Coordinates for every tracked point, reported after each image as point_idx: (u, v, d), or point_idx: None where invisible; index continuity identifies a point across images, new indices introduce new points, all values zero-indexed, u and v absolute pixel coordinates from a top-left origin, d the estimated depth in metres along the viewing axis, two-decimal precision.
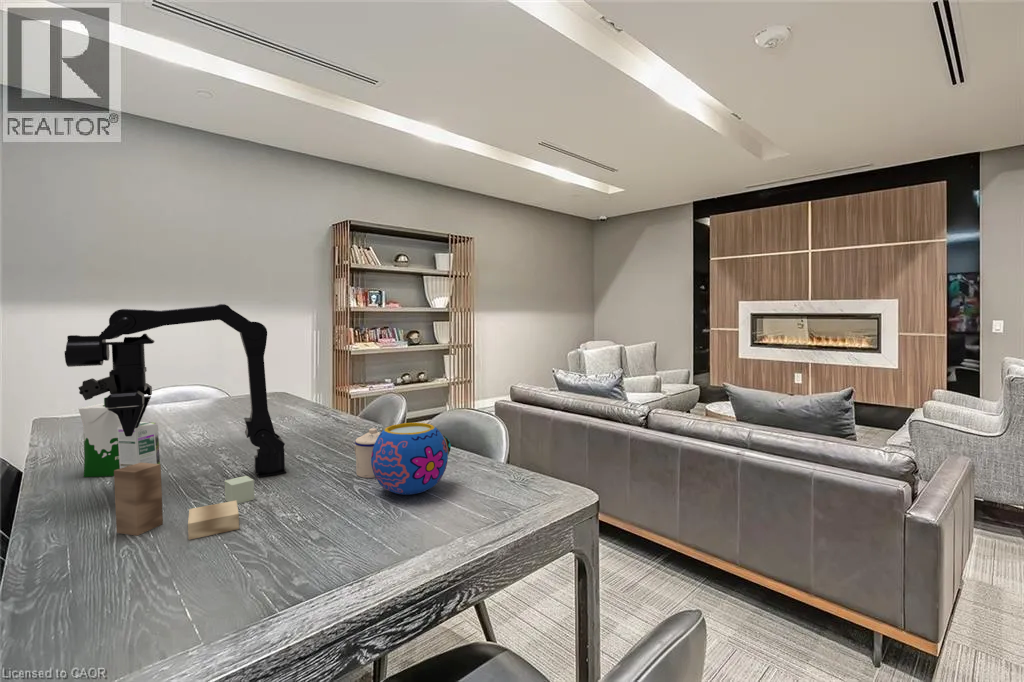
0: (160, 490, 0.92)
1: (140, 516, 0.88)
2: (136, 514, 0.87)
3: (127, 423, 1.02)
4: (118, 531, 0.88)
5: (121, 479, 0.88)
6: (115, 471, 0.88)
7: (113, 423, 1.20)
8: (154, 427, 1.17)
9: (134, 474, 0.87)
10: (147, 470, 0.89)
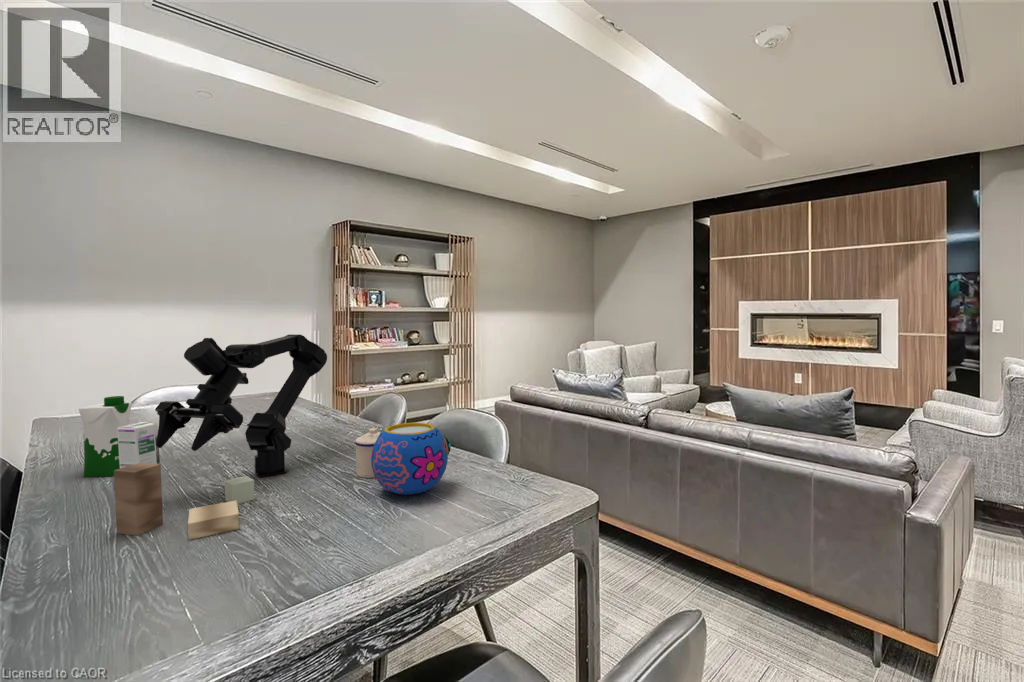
0: (160, 490, 0.92)
1: (140, 516, 0.88)
2: (136, 514, 0.87)
3: None
4: (118, 531, 0.88)
5: (121, 479, 0.88)
6: (115, 471, 0.88)
7: (113, 423, 1.20)
8: (154, 427, 1.17)
9: (134, 474, 0.87)
10: (147, 470, 0.89)
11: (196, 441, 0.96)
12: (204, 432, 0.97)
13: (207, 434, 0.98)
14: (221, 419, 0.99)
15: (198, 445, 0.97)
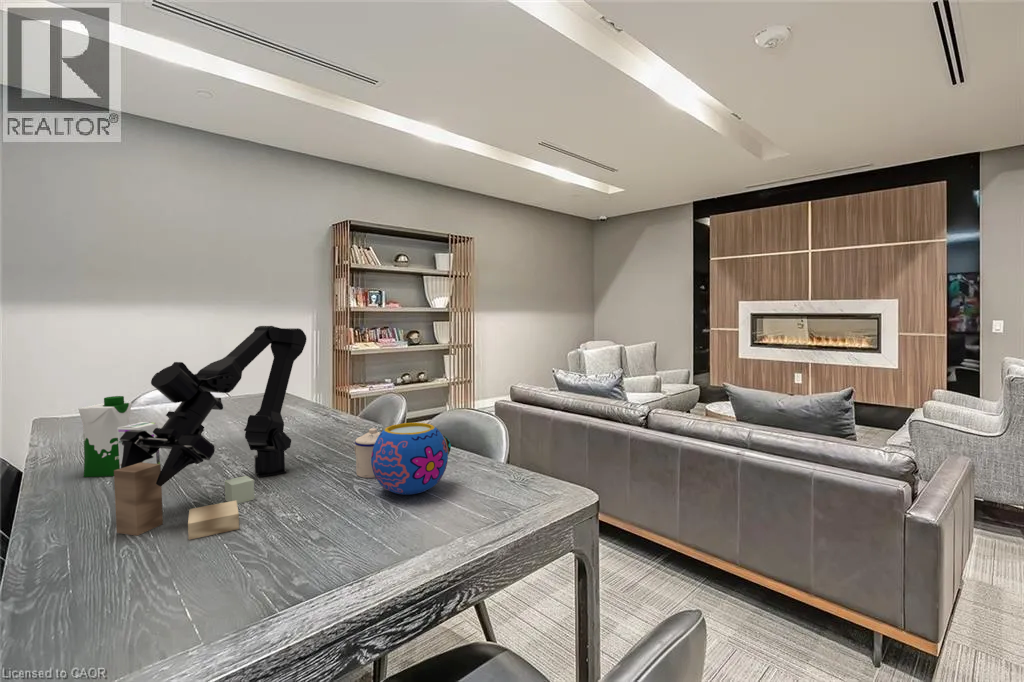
0: (160, 490, 0.92)
1: (140, 516, 0.88)
2: (136, 514, 0.87)
3: None
4: (118, 531, 0.88)
5: (121, 479, 0.88)
6: (115, 471, 0.88)
7: (112, 423, 1.20)
8: (154, 427, 1.17)
9: (134, 474, 0.87)
10: (147, 470, 0.89)
11: (161, 475, 0.89)
12: (170, 465, 0.90)
13: (174, 467, 0.91)
14: (189, 451, 0.92)
15: (164, 480, 0.90)
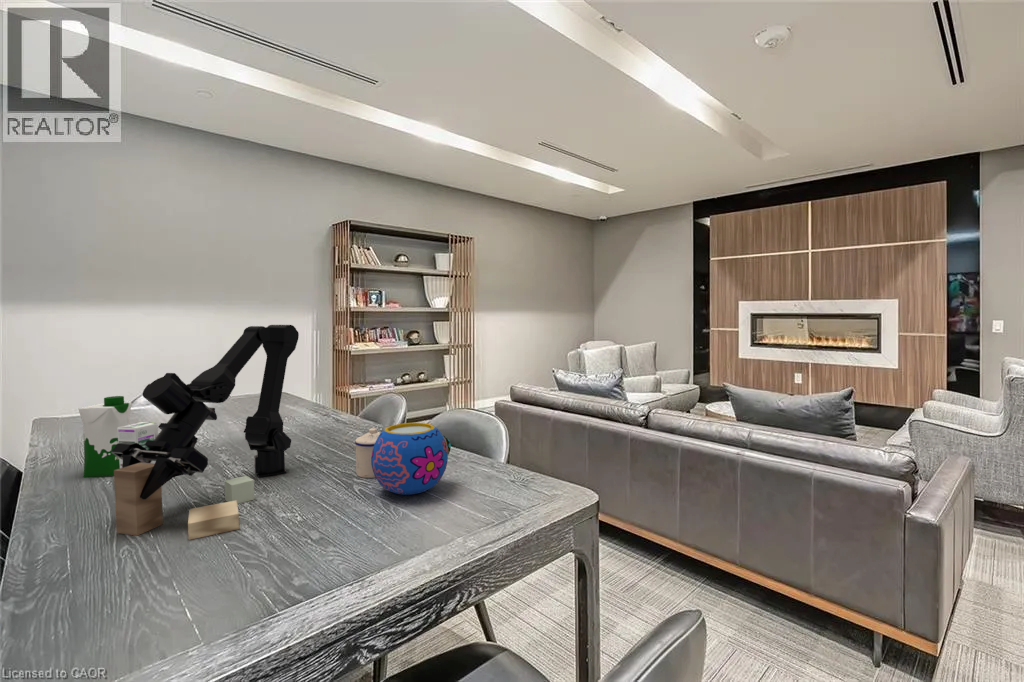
0: (160, 490, 0.92)
1: (140, 516, 0.88)
2: (136, 514, 0.87)
3: None
4: (118, 531, 0.88)
5: (121, 479, 0.88)
6: (115, 471, 0.88)
7: (113, 423, 1.20)
8: (154, 427, 1.17)
9: (134, 474, 0.87)
10: (147, 470, 0.89)
11: (145, 489, 0.88)
12: (155, 478, 0.89)
13: (158, 480, 0.90)
14: (174, 463, 0.91)
15: (148, 493, 0.89)
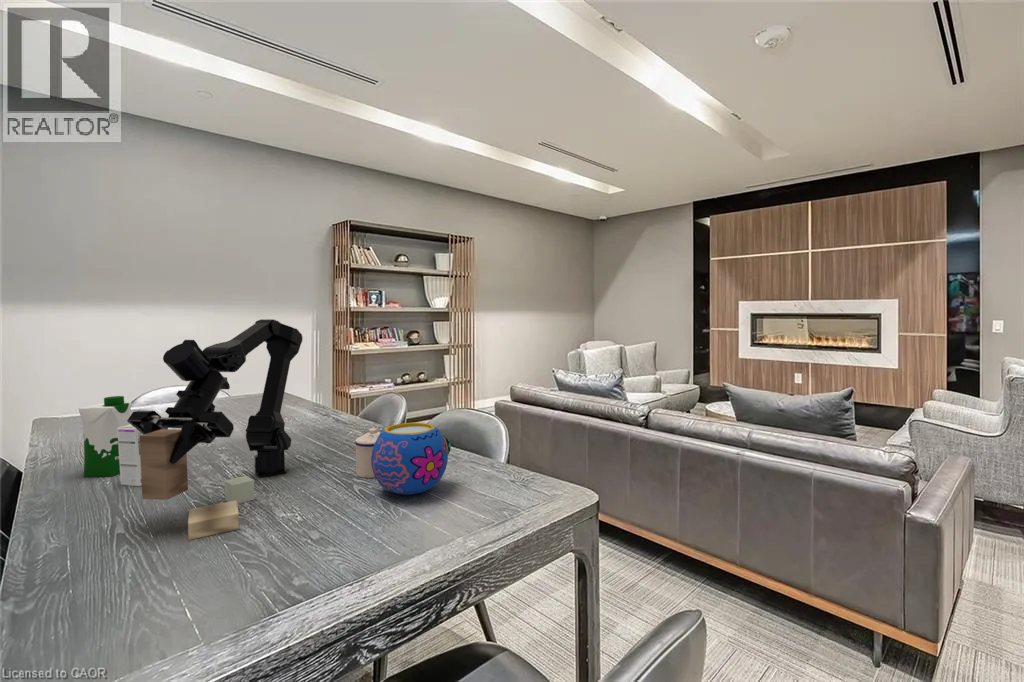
0: (186, 455, 0.91)
1: (170, 481, 0.88)
2: (166, 478, 0.87)
3: None
4: (144, 497, 0.87)
5: (148, 444, 0.87)
6: (141, 436, 0.87)
7: (113, 423, 1.20)
8: None
9: (164, 437, 0.86)
10: (175, 435, 0.89)
11: (175, 453, 0.88)
12: (183, 443, 0.89)
13: (186, 445, 0.90)
14: (202, 428, 0.91)
15: (177, 457, 0.88)
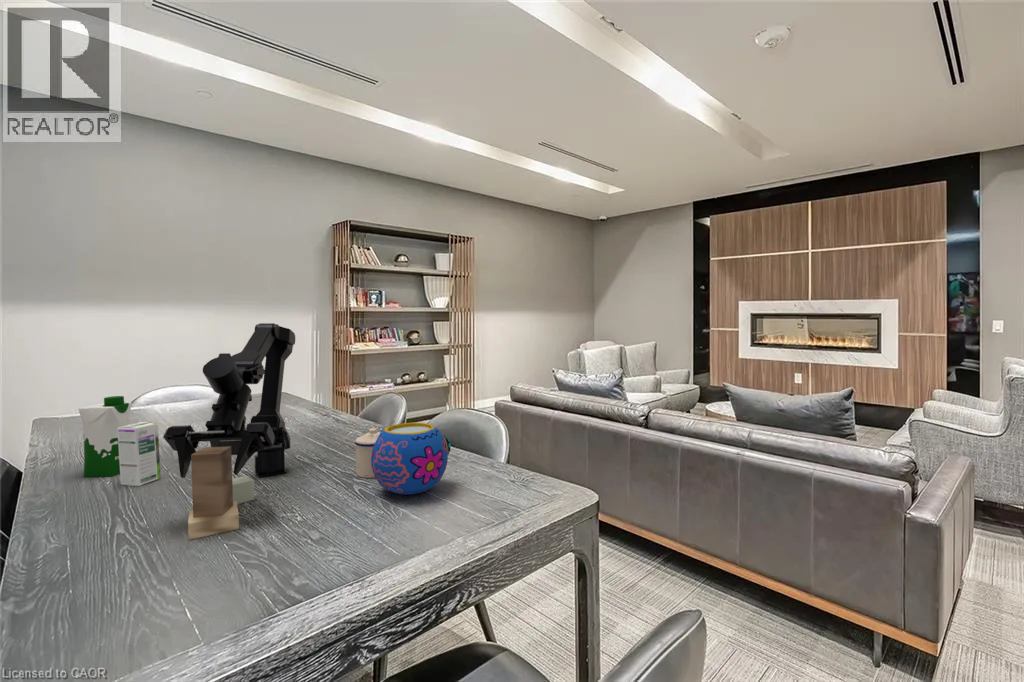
0: (231, 472, 0.93)
1: (223, 497, 0.90)
2: (221, 494, 0.89)
3: None
4: (196, 515, 0.88)
5: (201, 462, 0.88)
6: (193, 455, 0.88)
7: (113, 423, 1.20)
8: (154, 427, 1.17)
9: (219, 455, 0.88)
10: (225, 452, 0.91)
11: (238, 464, 0.90)
12: (244, 454, 0.92)
13: (246, 456, 0.92)
14: (260, 438, 0.94)
15: (239, 468, 0.91)
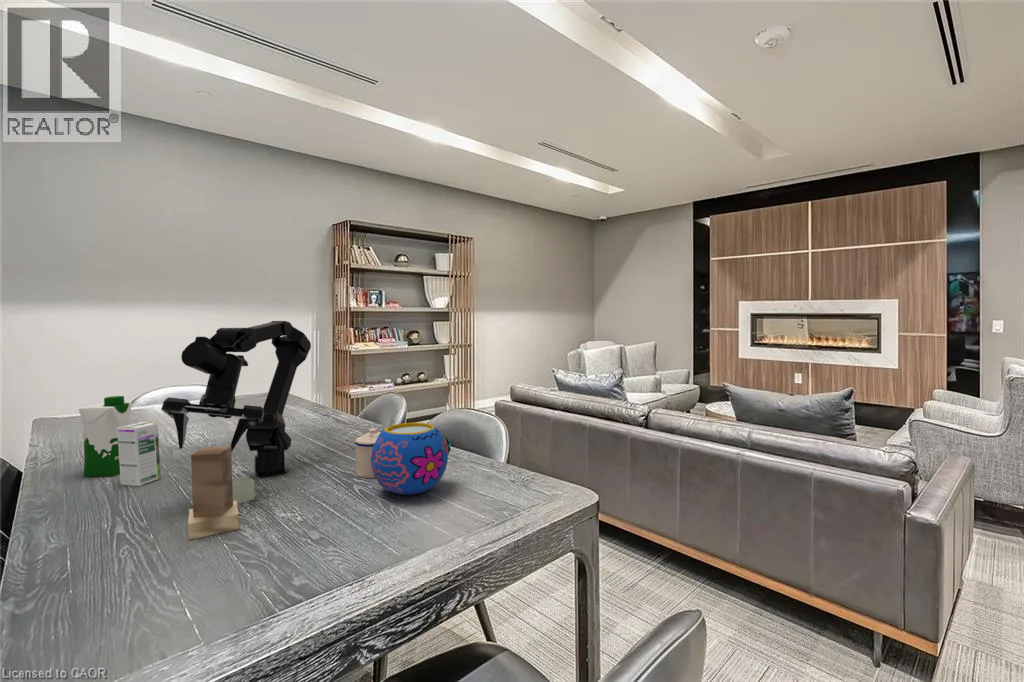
0: (231, 472, 0.93)
1: (223, 497, 0.90)
2: (221, 494, 0.89)
3: None
4: (196, 515, 0.88)
5: (201, 462, 0.88)
6: (193, 455, 0.88)
7: (113, 423, 1.20)
8: (154, 427, 1.17)
9: (219, 455, 0.88)
10: (225, 452, 0.91)
11: (234, 444, 1.02)
12: (240, 435, 1.02)
13: (240, 435, 1.03)
14: (254, 421, 1.04)
15: (234, 447, 1.02)
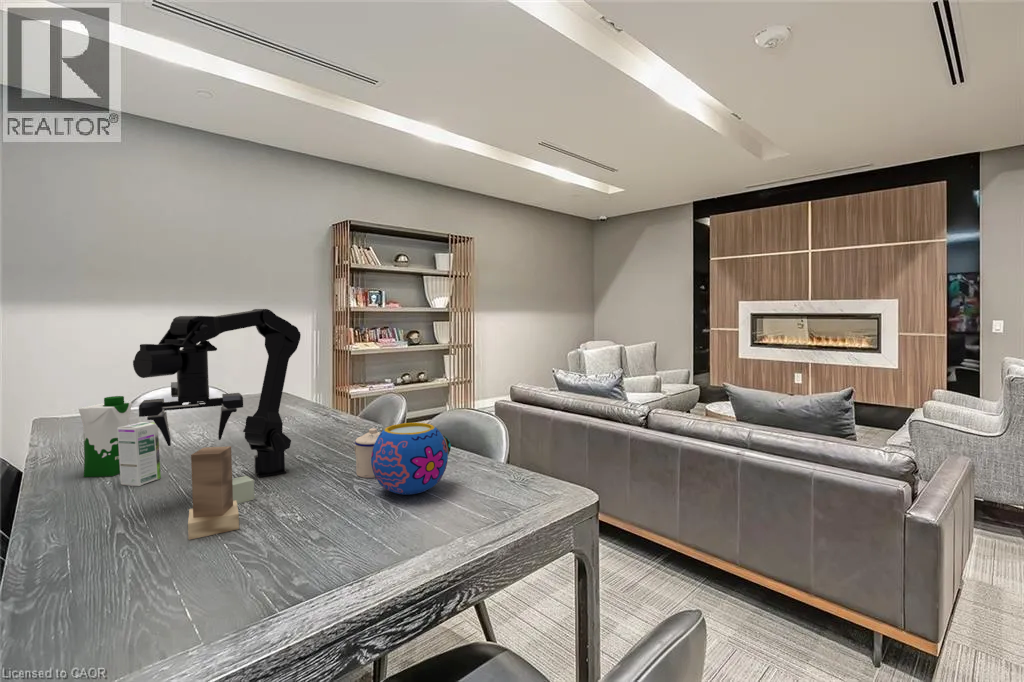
0: (231, 472, 0.93)
1: (223, 497, 0.90)
2: (221, 494, 0.89)
3: None
4: (196, 515, 0.88)
5: (201, 462, 0.88)
6: (193, 455, 0.88)
7: (113, 423, 1.20)
8: (154, 427, 1.17)
9: (219, 455, 0.88)
10: (225, 452, 0.91)
11: (222, 433, 1.06)
12: (225, 424, 1.06)
13: None
14: None
15: None
